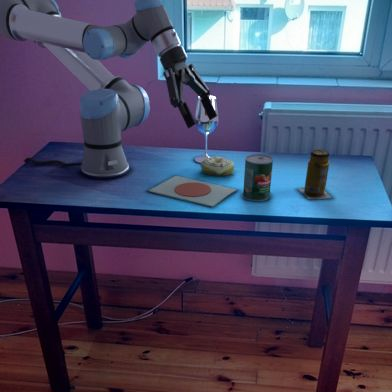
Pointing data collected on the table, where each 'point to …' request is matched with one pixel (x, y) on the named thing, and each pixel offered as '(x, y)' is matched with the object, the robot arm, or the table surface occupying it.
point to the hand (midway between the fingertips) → (203, 122)
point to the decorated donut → (217, 166)
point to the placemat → (193, 191)
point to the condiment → (316, 175)
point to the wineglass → (205, 123)
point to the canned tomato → (257, 177)
